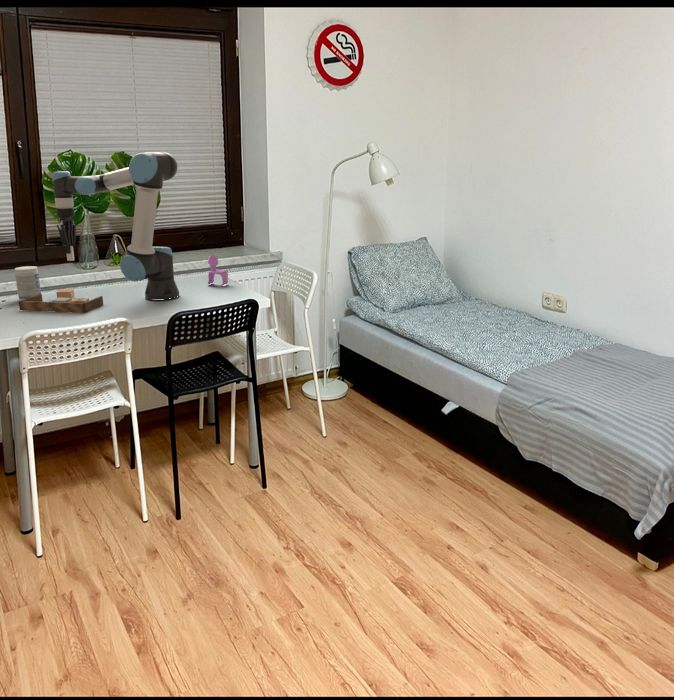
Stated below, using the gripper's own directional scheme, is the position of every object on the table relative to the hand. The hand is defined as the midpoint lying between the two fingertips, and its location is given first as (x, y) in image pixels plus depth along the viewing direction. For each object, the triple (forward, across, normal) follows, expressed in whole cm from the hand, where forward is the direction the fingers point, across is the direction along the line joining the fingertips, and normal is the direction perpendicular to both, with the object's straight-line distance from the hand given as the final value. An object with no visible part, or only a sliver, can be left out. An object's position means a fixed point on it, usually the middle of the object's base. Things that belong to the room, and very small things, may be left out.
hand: (70, 260), depth 313 cm
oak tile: (+17, +22, +14) cm, 31 cm away
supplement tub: (+17, +9, -16) cm, 25 cm away
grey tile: (+17, +22, +6) cm, 28 cm away
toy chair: (+17, -31, +58) cm, 68 cm away
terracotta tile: (+17, +5, -2) cm, 18 cm away
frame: (+17, +22, +6) cm, 28 cm away
